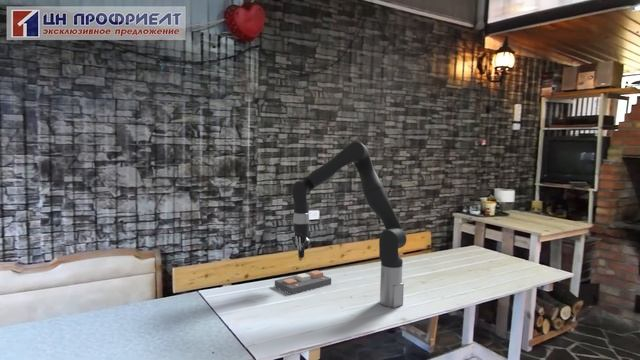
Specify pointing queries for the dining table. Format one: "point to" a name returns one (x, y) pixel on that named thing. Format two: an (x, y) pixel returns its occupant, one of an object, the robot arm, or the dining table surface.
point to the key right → (316, 274)
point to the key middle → (303, 277)
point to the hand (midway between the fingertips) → (301, 257)
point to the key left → (289, 281)
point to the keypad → (302, 284)
